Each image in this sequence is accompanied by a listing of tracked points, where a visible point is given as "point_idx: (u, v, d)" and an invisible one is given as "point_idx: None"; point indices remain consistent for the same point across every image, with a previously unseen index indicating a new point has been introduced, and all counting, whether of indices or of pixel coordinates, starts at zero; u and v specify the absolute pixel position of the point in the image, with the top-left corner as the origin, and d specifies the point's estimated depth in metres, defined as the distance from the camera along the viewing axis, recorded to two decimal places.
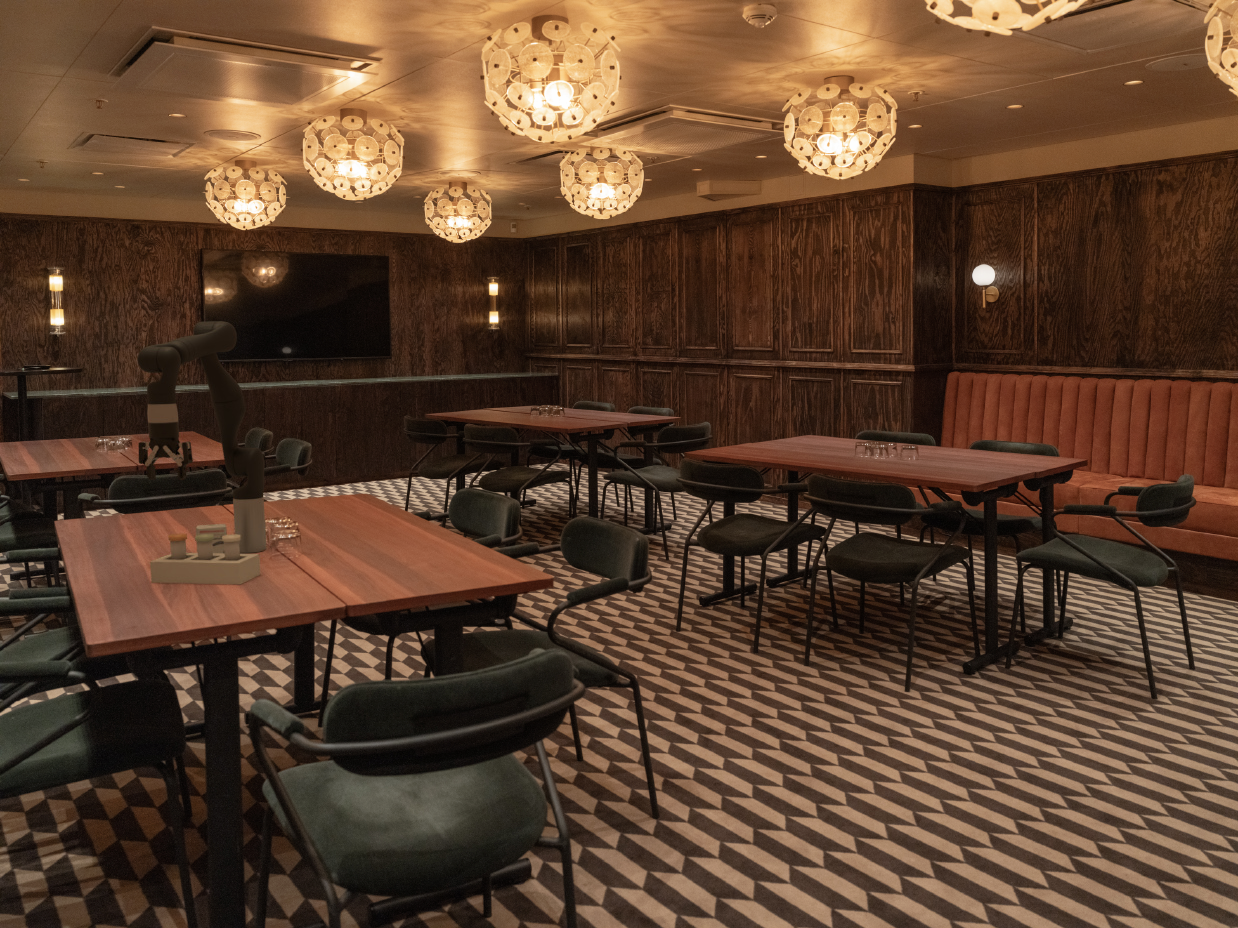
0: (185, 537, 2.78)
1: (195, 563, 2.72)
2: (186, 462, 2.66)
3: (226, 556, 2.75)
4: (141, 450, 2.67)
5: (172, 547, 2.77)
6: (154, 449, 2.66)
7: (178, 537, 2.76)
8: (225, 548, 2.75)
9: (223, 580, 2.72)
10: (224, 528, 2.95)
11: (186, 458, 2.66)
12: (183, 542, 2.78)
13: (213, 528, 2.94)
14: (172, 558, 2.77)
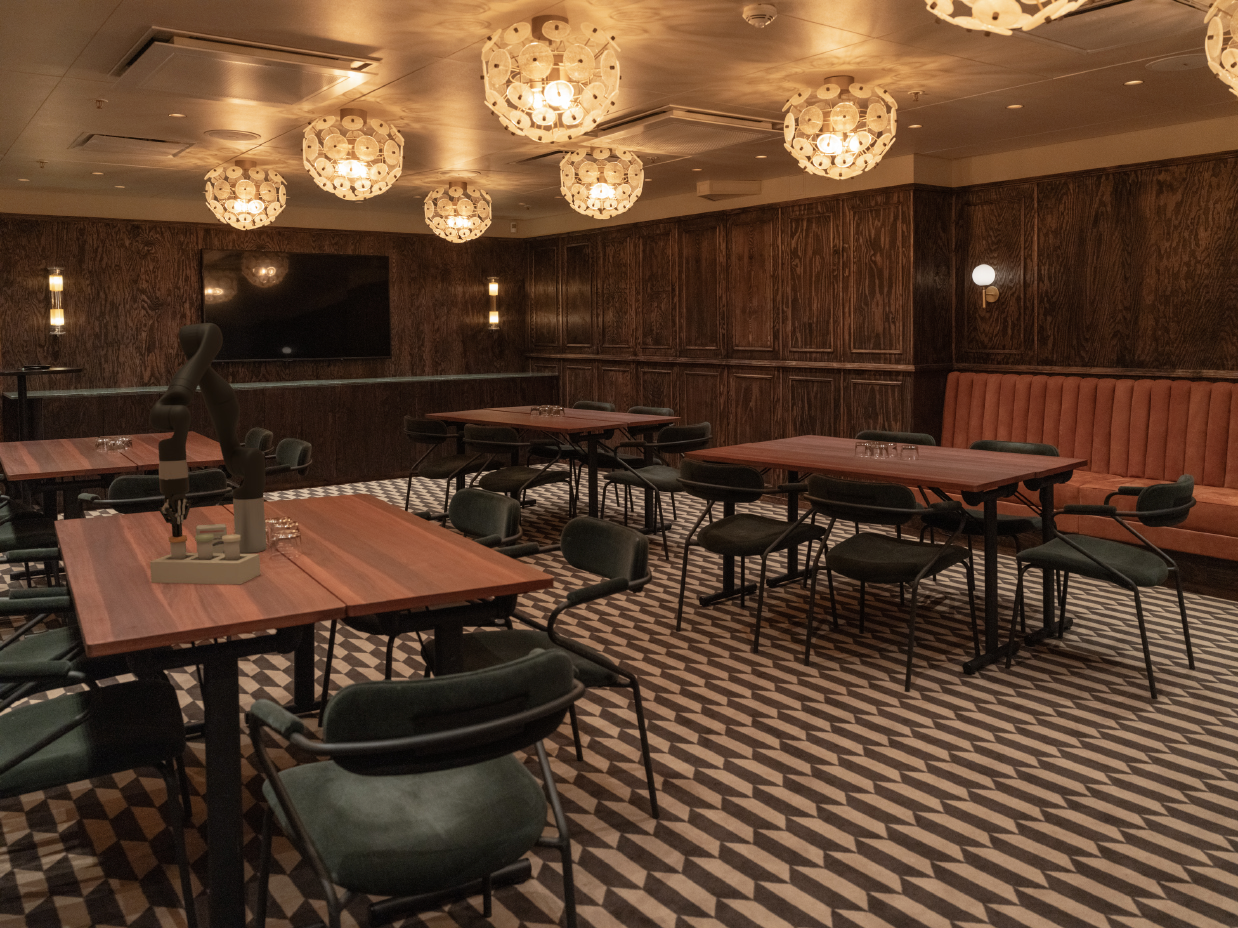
0: (185, 539, 2.78)
1: (195, 563, 2.72)
2: (186, 518, 2.80)
3: (226, 556, 2.75)
4: (171, 512, 2.73)
5: (172, 549, 2.77)
6: (179, 505, 2.75)
7: (178, 539, 2.76)
8: (225, 548, 2.75)
9: (223, 580, 2.72)
10: (224, 528, 2.95)
11: (186, 515, 2.81)
12: (183, 544, 2.78)
13: (213, 528, 2.94)
14: None
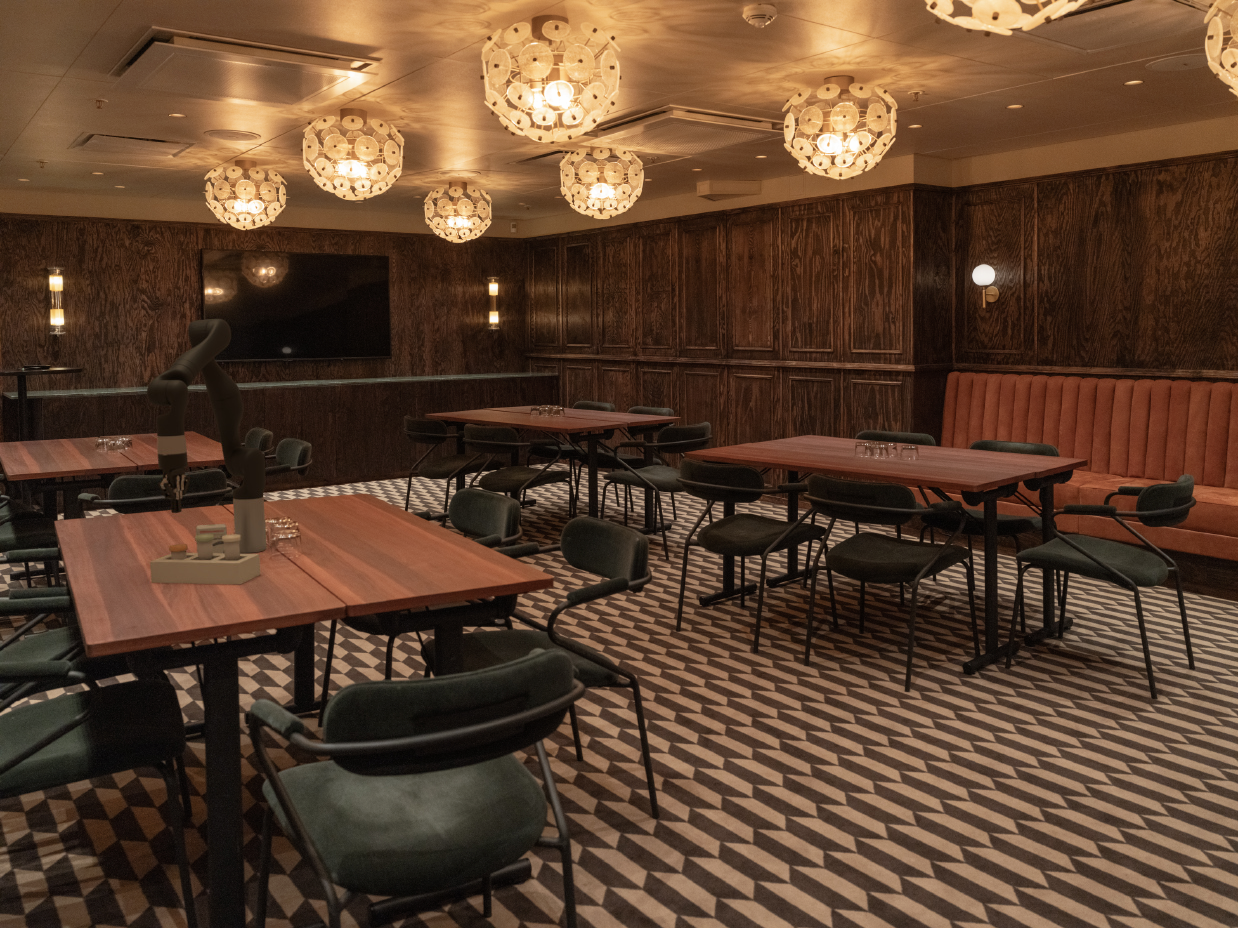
0: (186, 548, 2.78)
1: (195, 563, 2.72)
2: (184, 493, 2.79)
3: (226, 556, 2.75)
4: (170, 488, 2.72)
5: (173, 558, 2.77)
6: (177, 480, 2.74)
7: (179, 548, 2.76)
8: (225, 548, 2.75)
9: (223, 580, 2.72)
10: (224, 528, 2.95)
11: (185, 490, 2.80)
12: (184, 553, 2.78)
13: (213, 528, 2.94)
14: None
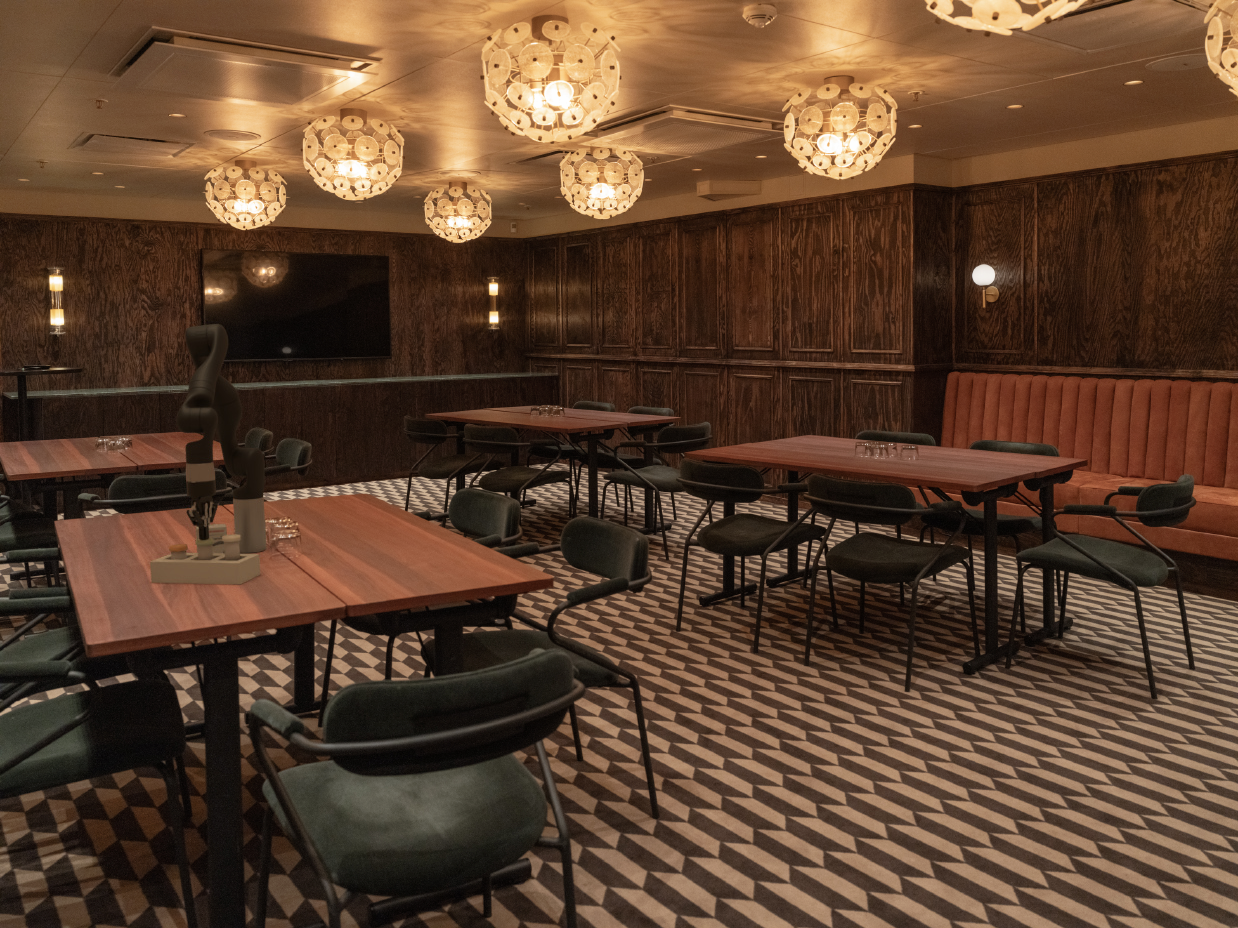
0: (186, 548, 2.78)
1: (195, 563, 2.72)
2: (212, 520, 2.79)
3: (226, 556, 2.75)
4: (198, 515, 2.72)
5: (173, 558, 2.77)
6: (206, 507, 2.75)
7: (179, 548, 2.76)
8: (225, 548, 2.75)
9: (223, 580, 2.72)
10: (224, 528, 2.95)
11: (213, 517, 2.80)
12: (184, 553, 2.78)
13: (213, 528, 2.94)
14: None
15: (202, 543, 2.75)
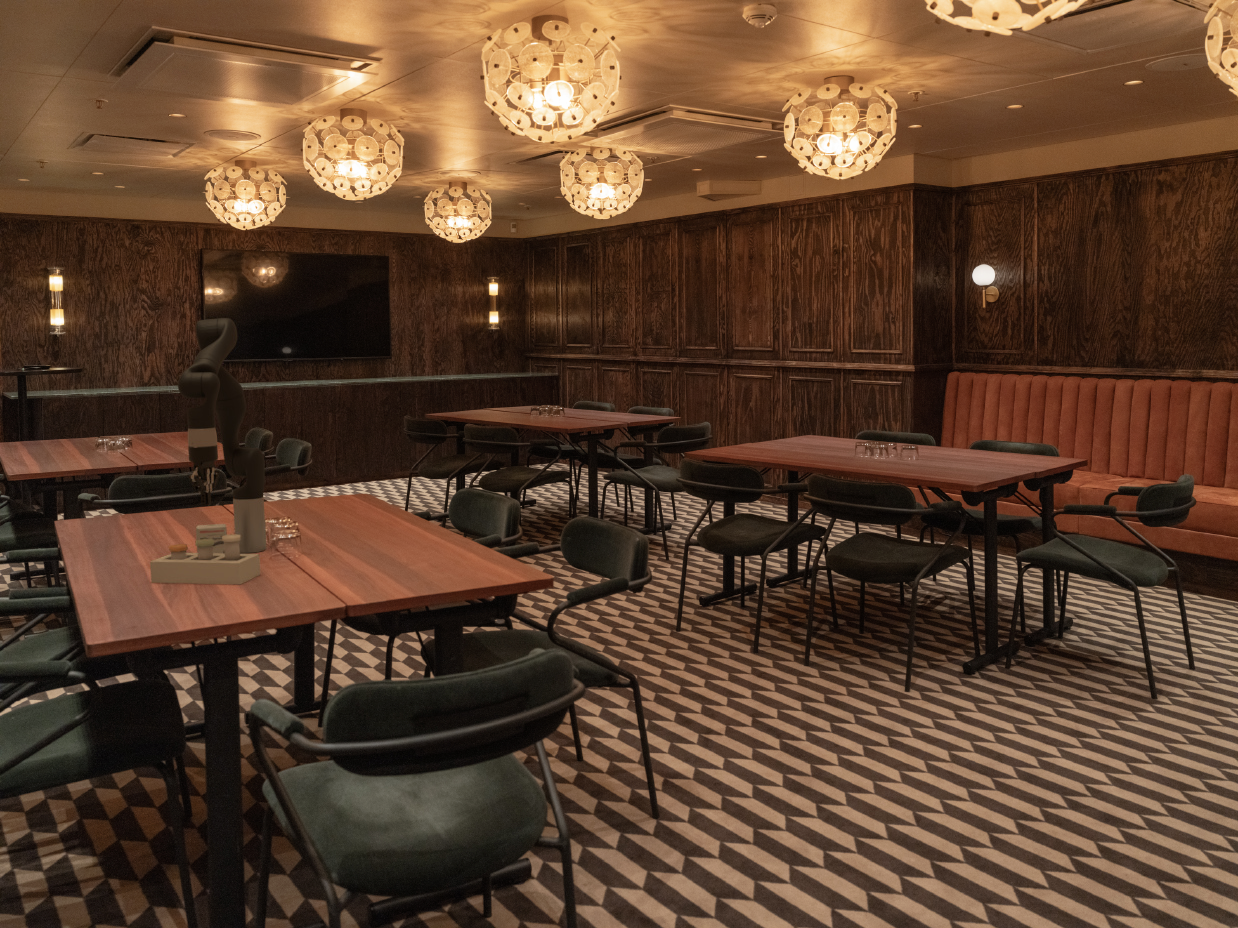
0: (186, 548, 2.78)
1: (195, 563, 2.72)
2: (214, 487, 2.78)
3: (226, 556, 2.75)
4: (200, 480, 2.71)
5: (173, 558, 2.77)
6: (208, 473, 2.73)
7: (179, 548, 2.76)
8: (225, 548, 2.75)
9: (223, 580, 2.72)
10: (224, 528, 2.95)
11: (215, 484, 2.78)
12: (184, 553, 2.78)
13: (213, 528, 2.94)
14: None
15: (202, 544, 2.75)
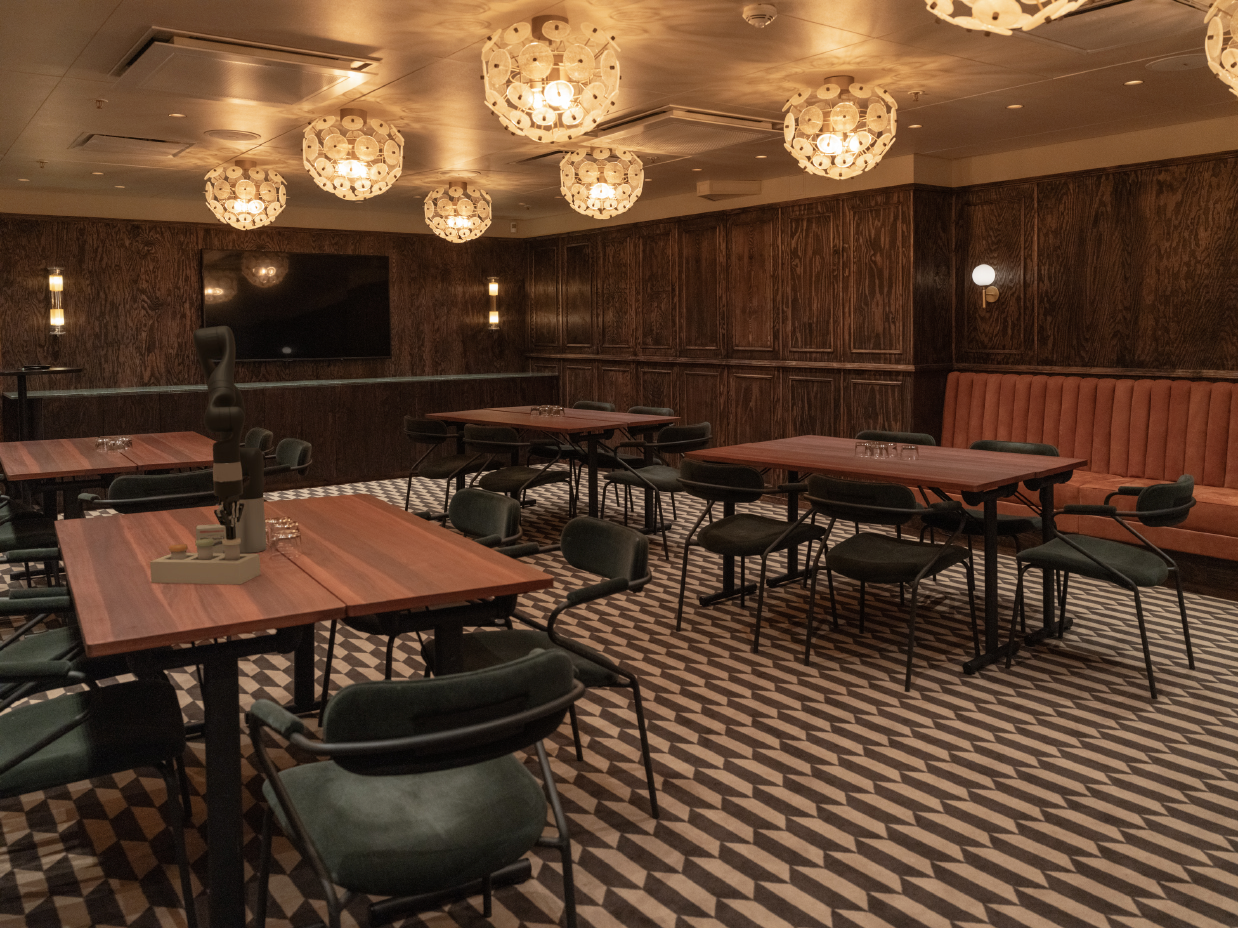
0: (186, 548, 2.78)
1: (195, 563, 2.72)
2: (239, 520, 2.78)
3: (226, 559, 2.75)
4: (225, 515, 2.71)
5: (173, 558, 2.77)
6: (233, 507, 2.74)
7: (179, 548, 2.76)
8: (225, 551, 2.75)
9: (223, 580, 2.72)
10: (224, 528, 2.95)
11: (240, 517, 2.79)
12: (184, 553, 2.78)
13: (213, 528, 2.94)
14: None
15: (202, 544, 2.75)
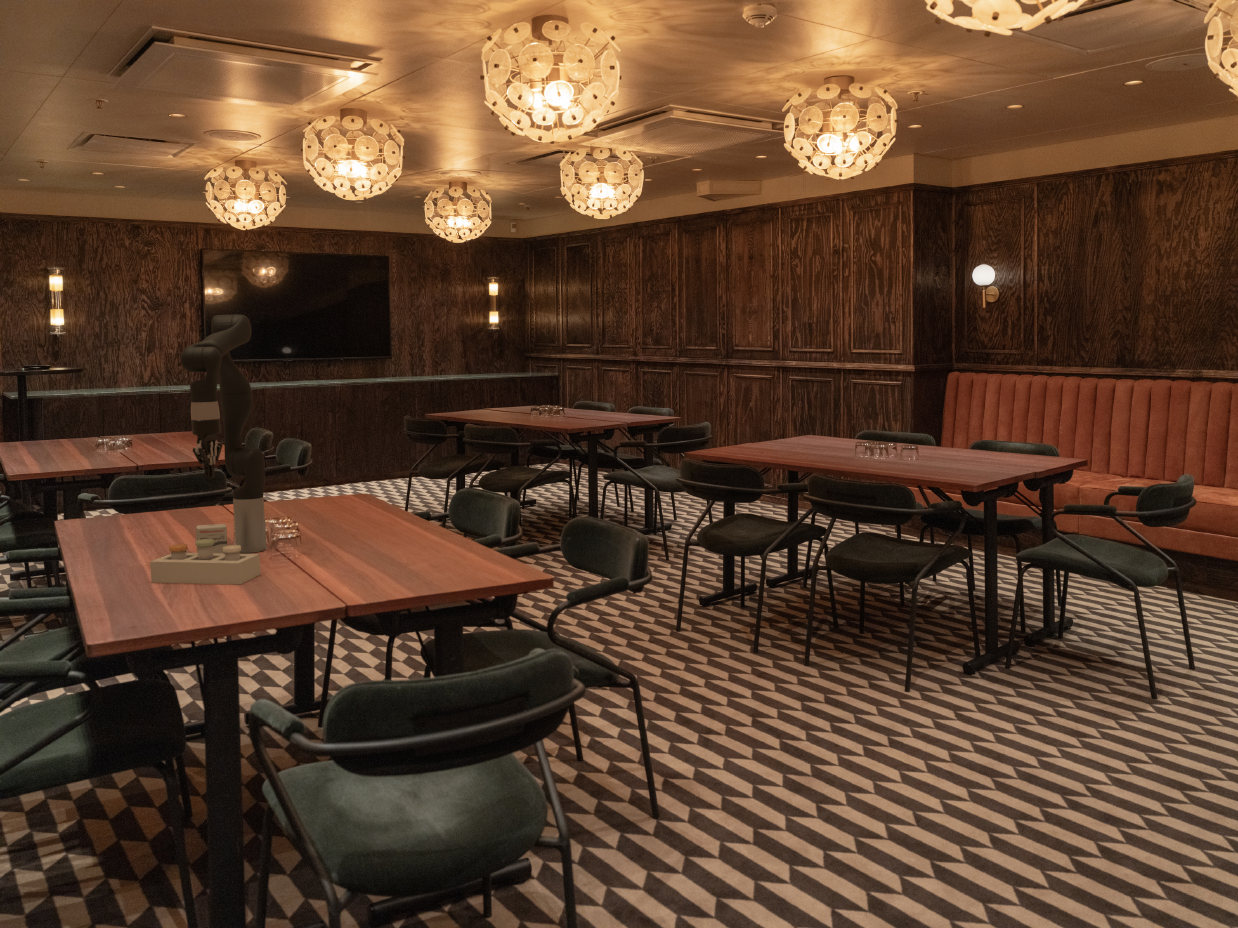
0: (186, 548, 2.78)
1: (195, 563, 2.72)
2: (217, 459, 2.83)
3: None
4: (204, 453, 2.76)
5: (173, 558, 2.77)
6: (211, 446, 2.78)
7: (179, 548, 2.76)
8: (226, 559, 2.75)
9: (223, 580, 2.72)
10: (224, 528, 2.95)
11: (218, 456, 2.84)
12: (184, 553, 2.78)
13: (213, 528, 2.94)
14: None
15: (202, 544, 2.75)
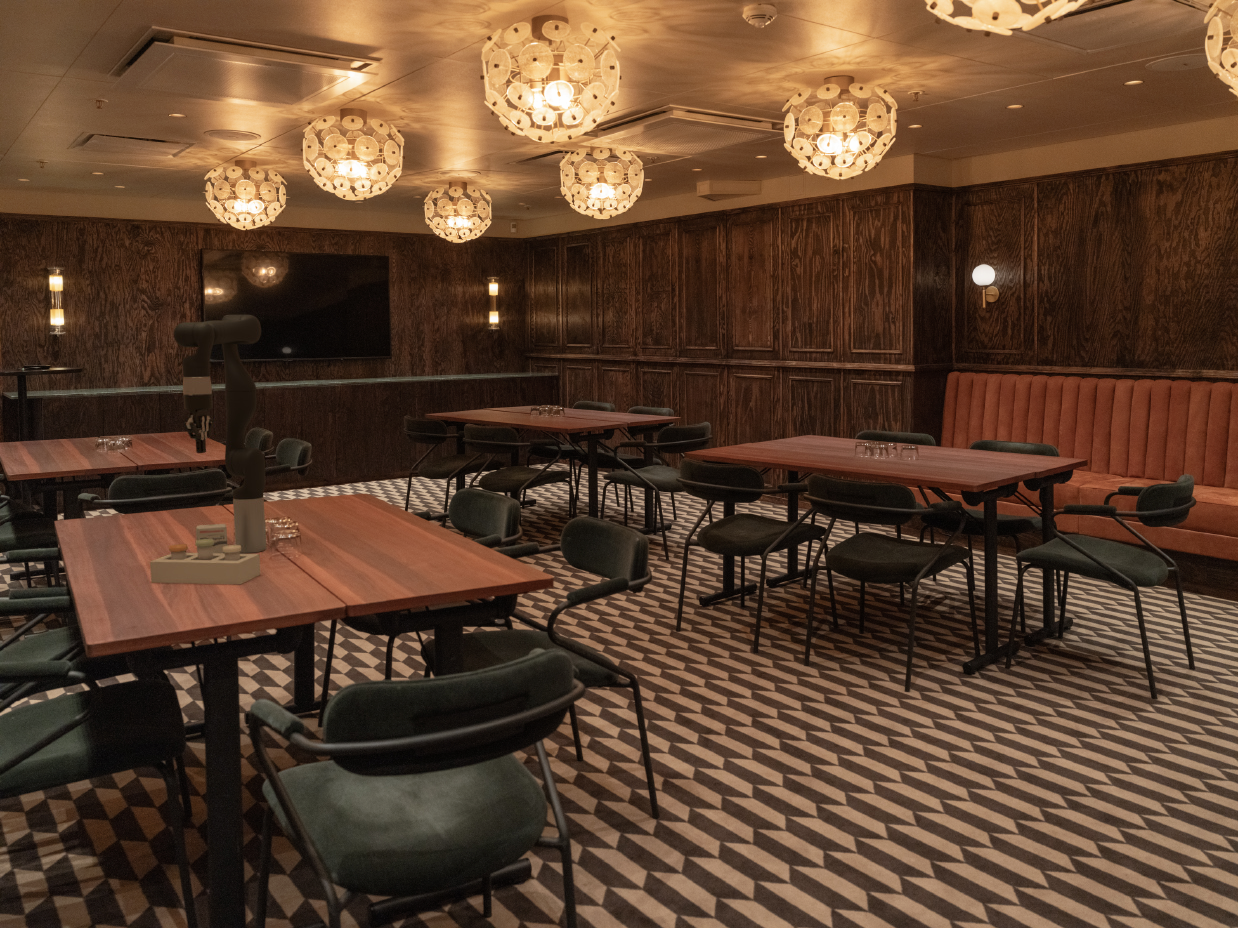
0: (186, 548, 2.78)
1: (195, 563, 2.72)
2: (209, 435, 2.85)
3: None
4: (195, 427, 2.77)
5: (173, 558, 2.77)
6: (203, 421, 2.80)
7: (179, 548, 2.76)
8: (226, 559, 2.75)
9: (223, 580, 2.72)
10: (224, 528, 2.95)
11: (210, 432, 2.85)
12: (184, 553, 2.78)
13: (213, 528, 2.94)
14: None
15: (202, 544, 2.75)
